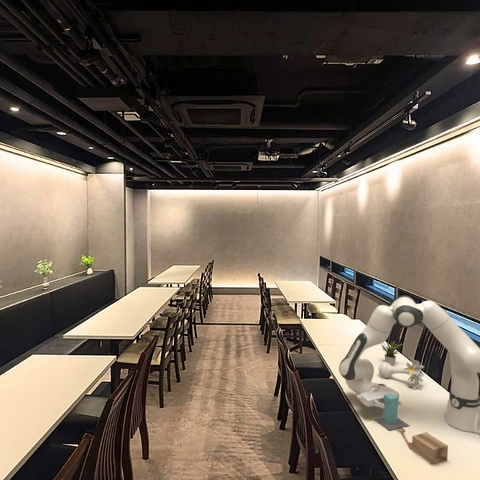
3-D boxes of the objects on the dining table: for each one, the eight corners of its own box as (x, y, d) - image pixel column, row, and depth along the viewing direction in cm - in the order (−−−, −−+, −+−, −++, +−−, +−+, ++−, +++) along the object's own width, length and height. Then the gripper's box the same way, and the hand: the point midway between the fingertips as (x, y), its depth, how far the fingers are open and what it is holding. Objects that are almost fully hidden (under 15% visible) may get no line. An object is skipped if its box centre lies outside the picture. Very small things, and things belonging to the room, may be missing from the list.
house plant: (399, 361, 253) (400, 338, 252) (406, 369, 239) (407, 344, 238) (377, 360, 254) (378, 336, 253) (383, 368, 240) (384, 343, 239)
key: (420, 451, 153) (408, 430, 168) (420, 449, 153) (408, 428, 168) (405, 448, 153) (394, 427, 168) (405, 446, 153) (395, 425, 168)
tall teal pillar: (389, 417, 177) (391, 393, 176) (397, 422, 173) (398, 397, 172) (382, 419, 175) (384, 394, 175) (390, 424, 171) (391, 399, 171)
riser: (425, 446, 156) (426, 432, 155) (447, 460, 146) (447, 445, 146) (411, 450, 153) (412, 435, 152) (432, 464, 143) (433, 449, 143)
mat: (392, 415, 180) (393, 414, 180) (409, 426, 171) (409, 425, 171) (373, 419, 175) (373, 419, 175) (389, 431, 166) (389, 430, 166)
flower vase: (380, 389, 224) (422, 393, 206) (372, 360, 224) (413, 361, 206) (390, 379, 233) (430, 383, 214) (381, 351, 233) (421, 352, 215)
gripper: (354, 389, 181) (375, 402, 169) (386, 383, 189) (408, 395, 177) (354, 401, 182) (374, 415, 169) (386, 395, 190) (407, 408, 177)
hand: (392, 405), depth 173 cm, fingers open, 8 cm apart
